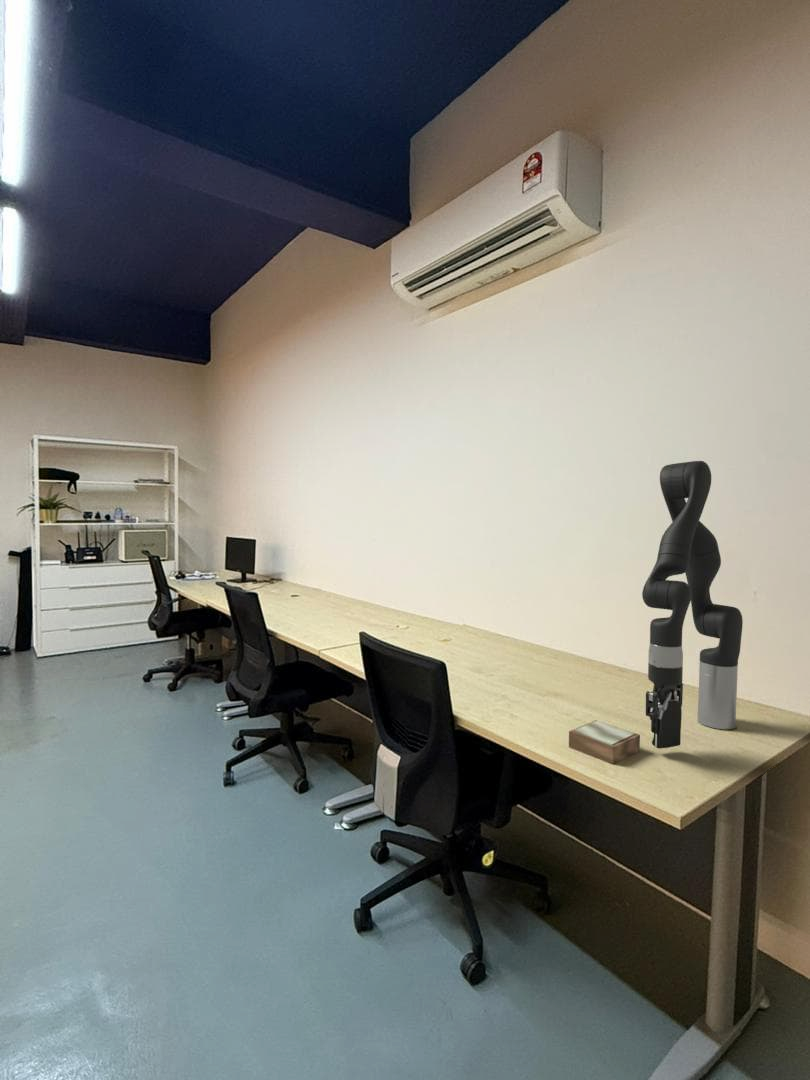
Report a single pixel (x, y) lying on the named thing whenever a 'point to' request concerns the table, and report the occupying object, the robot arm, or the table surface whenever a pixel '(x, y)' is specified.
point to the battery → (669, 726)
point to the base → (604, 741)
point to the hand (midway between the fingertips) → (664, 728)
